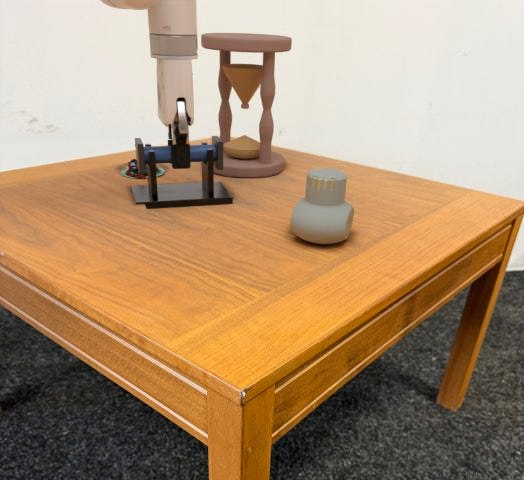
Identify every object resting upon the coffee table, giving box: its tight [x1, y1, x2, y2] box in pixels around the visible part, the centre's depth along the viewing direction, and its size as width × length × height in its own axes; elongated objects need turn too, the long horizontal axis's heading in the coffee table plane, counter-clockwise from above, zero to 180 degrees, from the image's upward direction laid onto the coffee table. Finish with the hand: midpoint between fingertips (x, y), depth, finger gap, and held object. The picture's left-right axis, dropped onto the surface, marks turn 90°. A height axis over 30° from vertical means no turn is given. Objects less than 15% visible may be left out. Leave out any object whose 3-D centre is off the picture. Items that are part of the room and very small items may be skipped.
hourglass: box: [200, 32, 293, 179], centre depth 113 cm, size 18×18×25 cm
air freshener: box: [290, 167, 355, 245], centre depth 83 cm, size 11×8×10 cm
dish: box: [120, 158, 166, 180], centre depth 113 cm, size 8×7×8 cm
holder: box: [130, 141, 234, 210], centre depth 98 cm, size 17×10×9 cm, turn 106°
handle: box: [134, 135, 223, 173], centre depth 96 cm, size 15×5×5 cm, turn 106°
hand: (179, 164), depth 97 cm, fingers closed on handle, 2 cm apart
